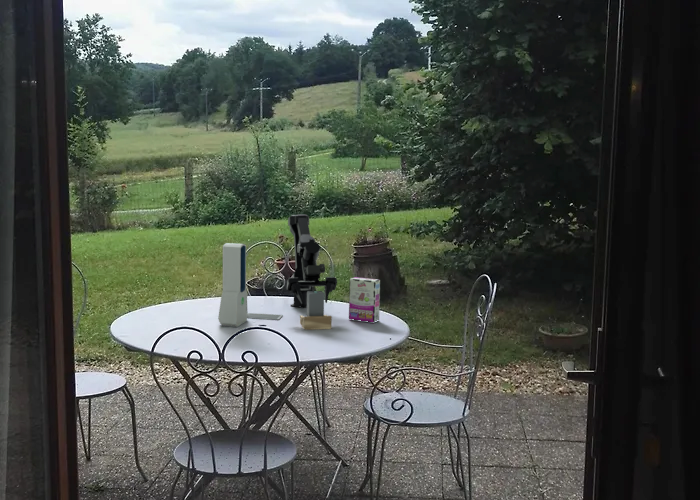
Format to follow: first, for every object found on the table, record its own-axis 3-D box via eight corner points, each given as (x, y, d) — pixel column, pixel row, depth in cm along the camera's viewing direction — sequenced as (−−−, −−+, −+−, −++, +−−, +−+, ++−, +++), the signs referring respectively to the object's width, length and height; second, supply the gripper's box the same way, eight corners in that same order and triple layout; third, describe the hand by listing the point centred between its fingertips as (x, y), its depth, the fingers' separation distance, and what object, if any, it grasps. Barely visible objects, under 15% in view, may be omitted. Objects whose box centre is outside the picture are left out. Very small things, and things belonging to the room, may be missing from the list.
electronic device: (236, 327, 273) (237, 246, 269) (217, 326, 274) (217, 245, 270) (248, 320, 285) (248, 242, 281) (229, 318, 287) (229, 241, 282)
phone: (248, 315, 295) (248, 312, 295) (282, 317, 293) (282, 314, 293) (243, 319, 288) (243, 316, 288) (278, 321, 286) (278, 318, 286)
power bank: (306, 322, 281) (307, 290, 279) (321, 322, 282) (321, 290, 280) (308, 325, 276) (309, 293, 274) (323, 325, 277) (324, 293, 276)
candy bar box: (379, 321, 289) (381, 279, 286) (374, 323, 284) (375, 281, 282) (354, 317, 294) (355, 276, 292) (348, 320, 289) (349, 278, 287)
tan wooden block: (300, 323, 282) (300, 311, 282) (326, 322, 284) (326, 310, 284) (304, 329, 273) (304, 317, 272) (331, 328, 275) (331, 316, 274)
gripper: (288, 256, 281) (292, 291, 272) (336, 256, 285) (342, 290, 276) (285, 273, 289) (288, 307, 281) (332, 272, 294) (337, 306, 285)
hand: (314, 302), depth 280 cm, fingers open, 9 cm apart
